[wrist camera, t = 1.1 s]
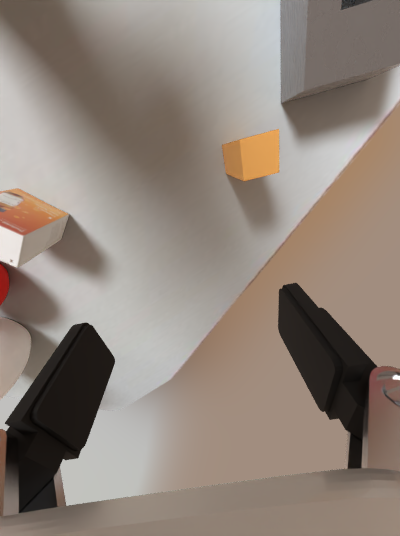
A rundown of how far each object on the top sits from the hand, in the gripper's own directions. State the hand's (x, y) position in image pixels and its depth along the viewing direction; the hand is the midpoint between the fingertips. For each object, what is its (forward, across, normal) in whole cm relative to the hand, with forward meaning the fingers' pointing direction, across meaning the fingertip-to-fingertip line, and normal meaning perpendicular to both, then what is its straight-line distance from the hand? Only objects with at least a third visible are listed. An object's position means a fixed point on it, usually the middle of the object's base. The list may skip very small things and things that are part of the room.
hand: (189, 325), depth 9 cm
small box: (+27, +25, -4) cm, 37 cm away
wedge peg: (+27, -9, -6) cm, 29 cm away
